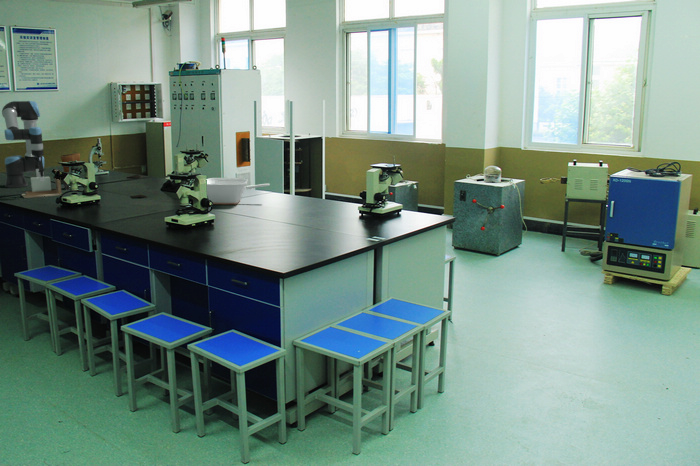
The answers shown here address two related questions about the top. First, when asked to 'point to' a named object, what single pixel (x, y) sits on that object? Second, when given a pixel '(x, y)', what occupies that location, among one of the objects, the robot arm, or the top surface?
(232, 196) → the pot
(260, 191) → the top surface
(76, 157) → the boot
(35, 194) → the brown l-shaped stand
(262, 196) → the top surface
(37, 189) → the door panel
